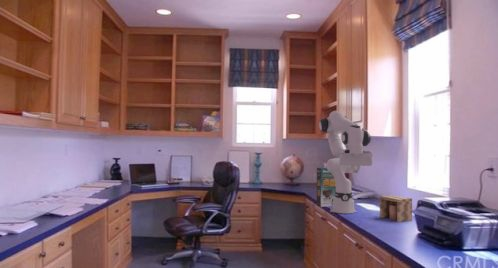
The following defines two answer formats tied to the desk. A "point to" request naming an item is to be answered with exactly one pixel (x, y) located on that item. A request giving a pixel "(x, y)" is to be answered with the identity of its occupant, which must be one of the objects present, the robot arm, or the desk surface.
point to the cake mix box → (325, 187)
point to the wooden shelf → (402, 207)
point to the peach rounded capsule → (393, 212)
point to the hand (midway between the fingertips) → (355, 172)
